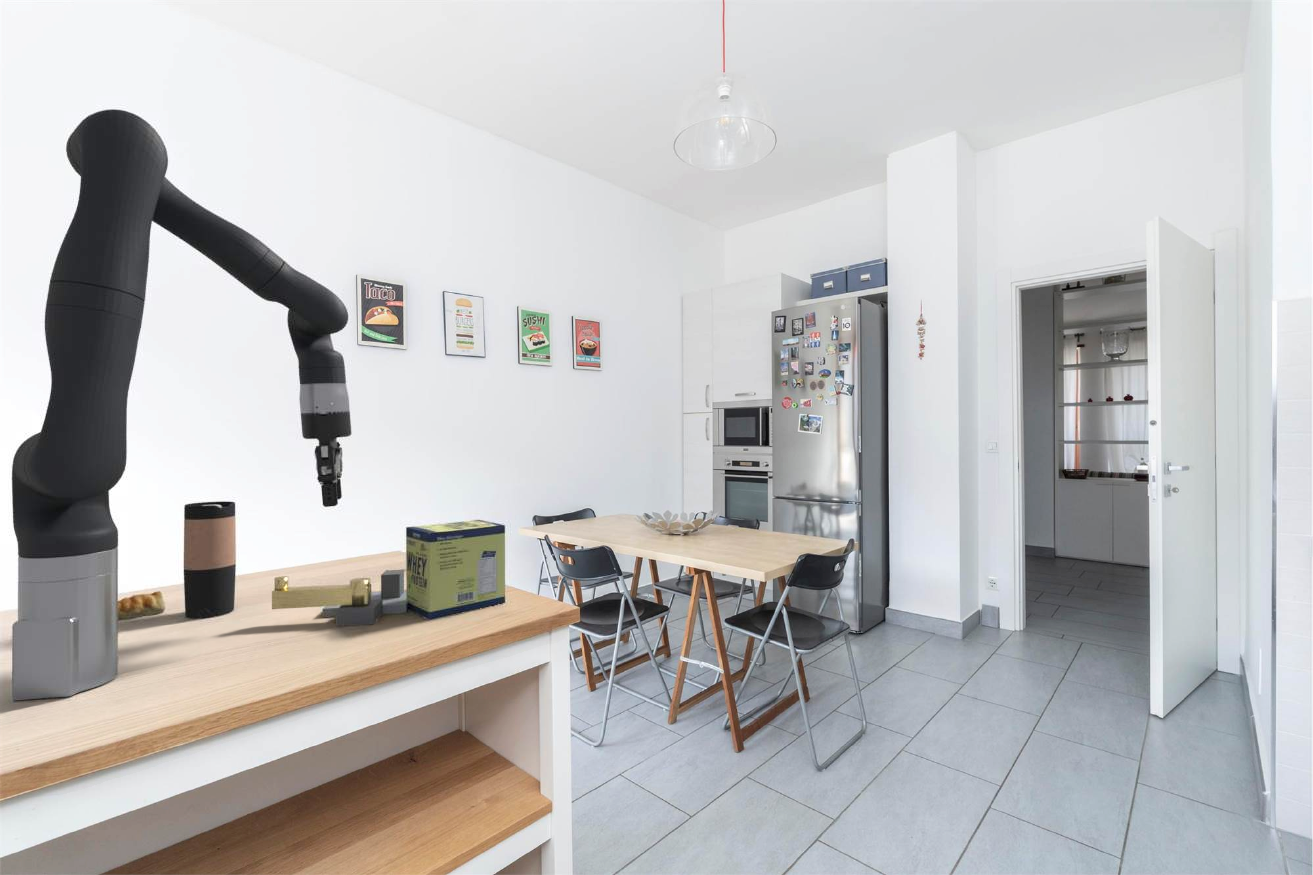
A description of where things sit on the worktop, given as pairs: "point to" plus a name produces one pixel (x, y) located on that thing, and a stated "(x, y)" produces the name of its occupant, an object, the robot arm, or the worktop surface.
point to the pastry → (141, 605)
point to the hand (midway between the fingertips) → (332, 502)
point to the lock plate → (374, 602)
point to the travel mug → (209, 559)
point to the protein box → (454, 567)
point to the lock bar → (320, 594)
